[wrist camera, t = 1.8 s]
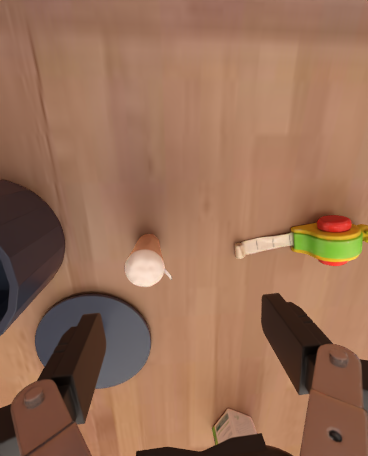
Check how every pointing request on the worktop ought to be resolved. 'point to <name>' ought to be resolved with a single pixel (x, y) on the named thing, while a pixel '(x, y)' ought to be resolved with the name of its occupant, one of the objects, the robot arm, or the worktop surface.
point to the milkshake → (146, 262)
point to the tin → (25, 249)
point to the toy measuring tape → (315, 240)
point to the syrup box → (232, 426)
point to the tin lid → (114, 332)
